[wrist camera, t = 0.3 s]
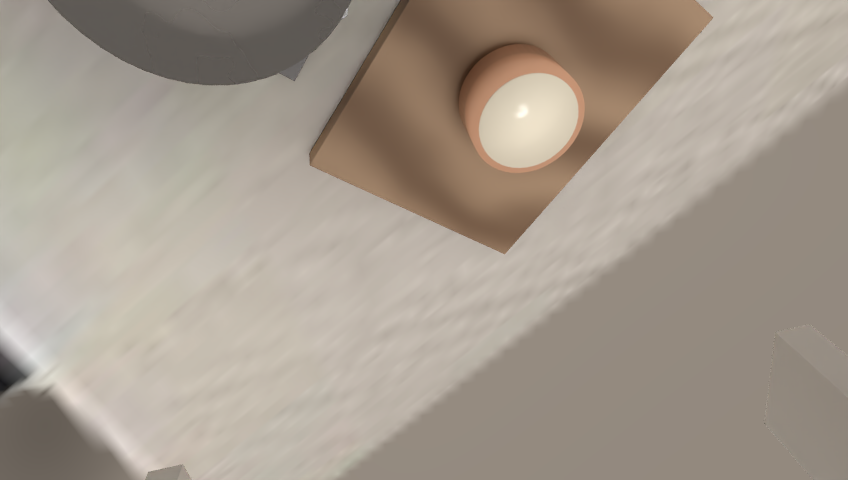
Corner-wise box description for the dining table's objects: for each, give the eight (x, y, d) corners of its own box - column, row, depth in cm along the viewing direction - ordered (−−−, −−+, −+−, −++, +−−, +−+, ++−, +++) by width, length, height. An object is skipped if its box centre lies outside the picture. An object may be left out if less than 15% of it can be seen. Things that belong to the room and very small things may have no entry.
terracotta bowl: (500, 17, 31) (523, 42, 28) (579, 74, 34) (608, 102, 31) (434, 111, 34) (448, 143, 30) (513, 156, 37) (534, 190, 33)
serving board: (502, -171, 27) (512, -170, 26) (699, 10, 34) (713, 17, 33) (309, 153, 36) (309, 165, 34) (499, 241, 43) (504, 254, 42)
